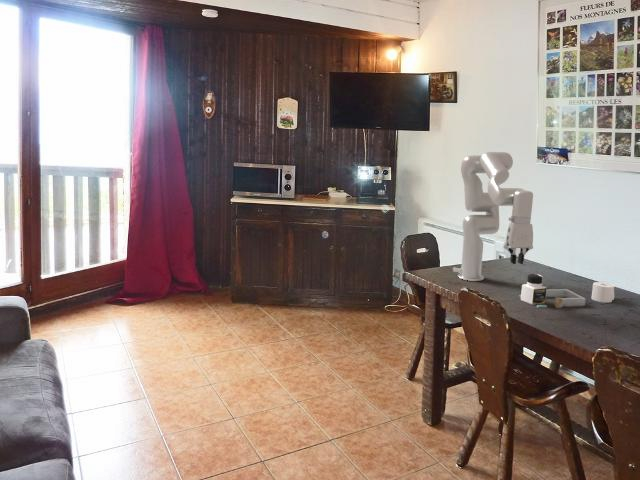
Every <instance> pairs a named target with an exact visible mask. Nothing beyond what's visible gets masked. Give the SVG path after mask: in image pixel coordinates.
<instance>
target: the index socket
mask: <svg viewBox="0 0 640 480" xmlns="http://www.w3.org/2000/svg"><path fill="white" fill-rule="evenodd" d="M555 297H560V298H562V306H561V307H585V306H586V297H583V296H581V295H579V294H577V293H575V292H574V291H571V290H570V289H567V288H565V289H563V288H559V289H558V288H557V289H556V288H554V289H553V288H552V289H551V288H550V289H547V288H546V297H545V298H555Z"/></svg>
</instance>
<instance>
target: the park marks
mask: <svg viewBox="0 0 640 480" xmlns="http://www.w3.org/2000/svg"><path fill="white" fill-rule="evenodd" d="M519 297H520V298H521V294H519ZM536 308H538V309H539V308H542V309H543V308H548V306H547V304H536Z"/></svg>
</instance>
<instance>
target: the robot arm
mask: <svg viewBox="0 0 640 480" xmlns="http://www.w3.org/2000/svg"><path fill="white" fill-rule="evenodd" d="M513 162H514V160H513V157H512V156H511V154H510V153H509V152H504V151H503V152H502V151H488V152H484V153H483V154H482V155H478V154H477V155H475V154H474V155H468V156H466V157H464V158H463V160H462V161H461V163H460V164H461V165H460V173H461V178H462V180H463V185H464V204H465V206H464V207H465V209H466V210H467V211H468V212H471V213H485V214H470V215H467V216H465V217H463V220H462V231H463V232H462V234H463V240H462V241H463V242H462V255H461V267H455V266H454V267H452V271H453V272H454V273H458V274H457V276H458V277H459V278H458V277H457V278H458V279H459V280H462V279H463V280H464V281H467V280H468V281H469V282H480V281H483V280H484V279H485V277H484V275H483V274H482V266H483V265H482V264H483V254H484V241H483V240H482V238H481V235H494V234H497V233H498V231H499V230H500V206H501V207H505V206H506V207H509V206H510V207H512V211H511V212H512V213H511V217H508V221H509V222H510V223H509V224H508V227H507V232H506V237H505V243H504V245H503V249H504V250H507V251H508V253H509V254H510V259H509V260H510V263H511V264H513V265H516V264H517V263H518V264H520V265H523V264H524V261H525V255H526V254H527V253H528V252H529V251H531V250H533V249H534V246H533V245H534V227H533V224H532V223H531V220H532V211H533V203H534V202H533V201H534V200H533V199H534V193H533V192H532V191H531V190H525V189H524V188H517V187H516V188H515V187H514V188H513V187H504V188H503V187H502V188H501V187H500V185H502V184H503V183H505V182H506V181H508V179H509V177H510V171H509V170H510V169H511V168H512V167H513ZM477 174H485V175H486V176H487V177H488V179H489V180H488V182H487V192H484V190H483V181H482V180H481V178H480V177H479V176H478V175H477ZM517 249H519V253H518V256H517V254H516V252H517Z"/></svg>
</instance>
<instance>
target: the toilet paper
mask: <svg viewBox="0 0 640 480" xmlns="http://www.w3.org/2000/svg"><path fill="white" fill-rule="evenodd" d="M591 291H592V292H591V300H592V301H595V302H599V303H605V304H606V303H612V302H613V301H614V299H615V284H614V283H608V282H603V281H602V282H601V281H600V282H599V281H595V282H593V283H592V290H591ZM612 300H613V301H612Z"/></svg>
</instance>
